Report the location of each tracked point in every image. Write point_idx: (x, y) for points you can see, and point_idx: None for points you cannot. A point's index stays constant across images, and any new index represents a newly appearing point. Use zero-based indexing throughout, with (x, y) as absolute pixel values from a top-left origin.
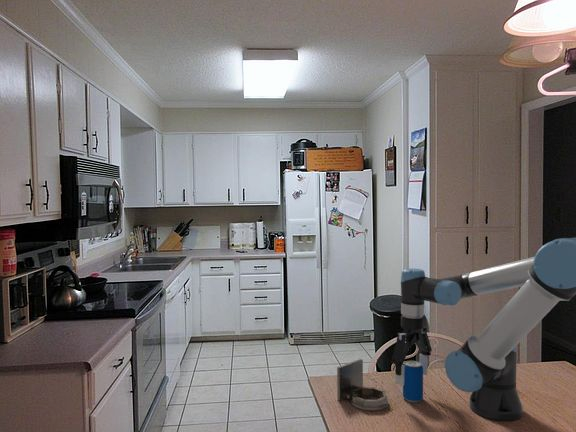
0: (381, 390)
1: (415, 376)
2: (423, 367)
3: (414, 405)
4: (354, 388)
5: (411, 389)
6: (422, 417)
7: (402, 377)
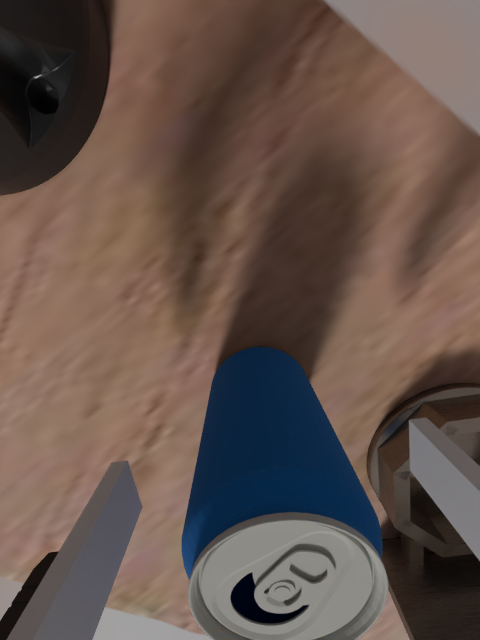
0: (399, 487)
1: (323, 438)
2: (110, 526)
3: (308, 337)
4: (443, 563)
5: (316, 396)
6: (388, 223)
7: (475, 465)
